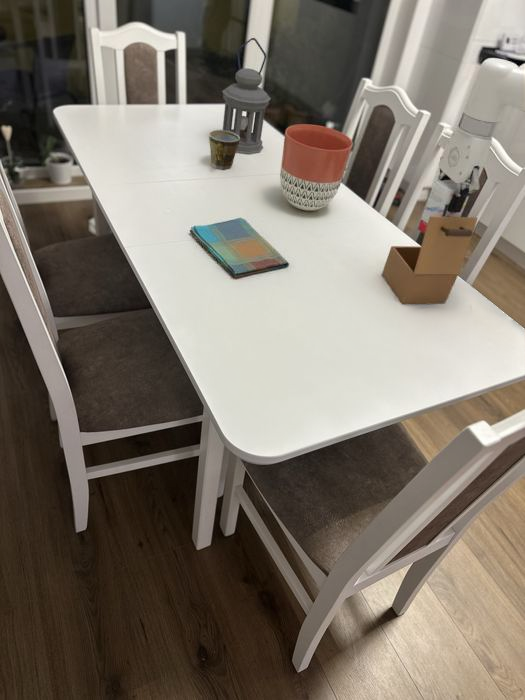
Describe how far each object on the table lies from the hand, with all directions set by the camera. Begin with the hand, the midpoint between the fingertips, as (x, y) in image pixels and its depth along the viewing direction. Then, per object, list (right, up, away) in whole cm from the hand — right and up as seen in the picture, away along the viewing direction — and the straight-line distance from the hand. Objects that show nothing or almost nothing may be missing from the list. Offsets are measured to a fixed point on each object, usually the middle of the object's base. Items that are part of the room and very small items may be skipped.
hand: (446, 203), depth 125 cm
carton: (-4, -18, +15) cm, 24 cm away
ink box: (-1, -5, +5) cm, 7 cm away
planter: (-30, +11, +43) cm, 53 cm away
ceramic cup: (-57, +27, +55) cm, 84 cm away
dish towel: (-49, -8, +17) cm, 52 cm away
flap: (0, -9, +1) cm, 10 cm away
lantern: (-51, +41, +73) cm, 98 cm away
